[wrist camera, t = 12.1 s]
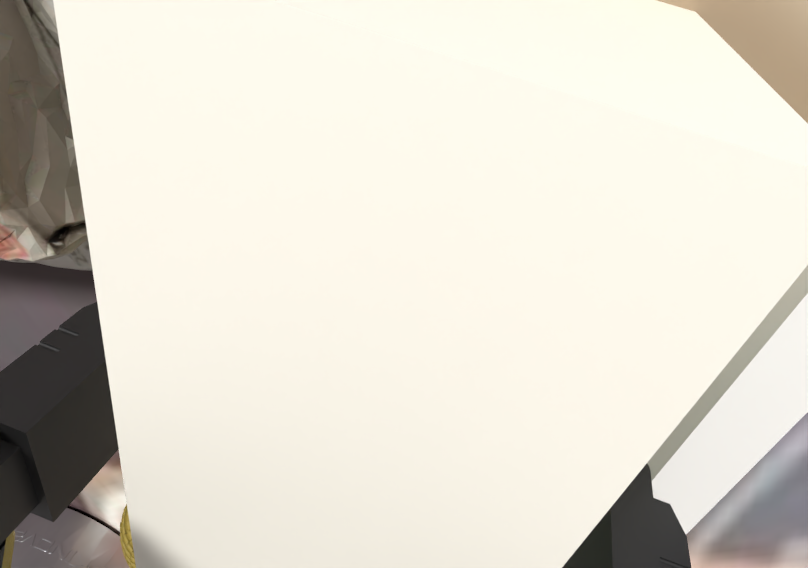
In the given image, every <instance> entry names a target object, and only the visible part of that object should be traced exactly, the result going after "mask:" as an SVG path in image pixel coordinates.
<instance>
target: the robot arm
mask: <svg viewBox="0 0 808 568" xmlns="http://www.w3.org/2000/svg"><path fill="white" fill-rule="evenodd" d="M118 449H119V448H118V441H117V434H116V427H115V420H114V413H113V407H112V400H111V393H110V386H109V379H108V372H107V366H106V359H105V352H104V345H103V338H102V331H101V325H100V318H99V311H98V304H97V302H96V303H94V304H91V305H89V306H86V307H84V308H82V309H81V310H79V311H78V312H77V313H76V314H74V315H73V316H72V317H70V318H69V319H68V320H67V321H65V322H64V323H63V324H61V325H60V327H59V329H58V330H54V331H52V332H51V333H50V334H48V335H47V336H46V337H45V338H43V339H42V340H41V341H40V344H39V345H38V346H37V345H34V346H33V347H32V348H30V349H29V350H28V351H27V352H25V353H24V354H23V355H21V356H20V357H19V358H18V359H16V360H15V361H14V362H12V363H11V364H10V365H9V366H7V367H6V368H5V369H3V370H2V371H1V372H0V568H130V567H129V566H128V564H127V562H126V559H125V557H124V555H123V554H124V553H123V552H122V550H123V549H122V546H121V542H120V538H121V537H120V536H118V535H117V534H116V533H114V532H113V531H111V530H110V529H108V528H107V527H105V526H103V525H102V524H100V523H98V522H97V521H95V520H93V519H91V518H89V517H87V516H85V515H83V514H81V513H79V512H77V511H74V510H71V509H69V508H67V507H68V506H69V504H70V503H71V502H72V501H73V500H74V499H75V498H76V497H77V495H78V494H79V493H80V492H81V491H82V490H83V489H84V487H85V486H86V485H87V484H88V483H89V482H90V481H91V480H92V478H93V477H94V476H95V475H96V474H97V473H98V472H99V470H100V469H101V468H102V467H103V466H104V465H105V464H106V463H107V461H108V460H109V459H110V458H111V457H112V456H113V455H114V453H115V452H116V451H117V450H118ZM562 568H691V563H690V556H689V550H688V543H687V537H686V534H685V532H684V530H683V528H682V526H681V525H680V523H679V521H678V519H677V517H676V515H675V513H674V511H673V509H672V507H671V505H670V504H669V503H666V502H663V501H661V500H658V499H655V498H653V490H652V480H651V472H650V468H649V465H648V464H646V465H645V466H644V467H643V469H642V470H641V471H640V472H639V473H638V475H637V476H636V477H635V478H634V480H633V481H632V482H631V483H630V485H629V486H628V487H627V488H626V489H625V491H624V492H623V493H622V494H621V496H620V497H619V498H618V499H617V501H616V502H615V503H614V504H613V506H612V507H611V508H610V509H609V510H608V512H607V513H606V514H605V515H604V517H603V518H602V519H601V520H600V522H599V523H598V524H597V525H596V526H595V528H594V529H593V530H592V531H591V533H590V534H589V535H588V536H587V538H586V539H585V540H584V541H583V542H582V544H581V545H580V546H579V547H578V549H577V550H576V551H575V552H574V554H573V555H572V556H571V557H570V558H569V560H568V561H567V562H566V563H565V565H564V566H563V567H562Z"/></svg>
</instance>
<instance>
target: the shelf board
mask: <svg viewBox="0 0 808 568" xmlns="http://www.w3.org/2000/svg"><path fill="white" fill-rule="evenodd" d="M657 1H660V2H664V3H667V4H670V5H674V6H677V7H681V8H684V9H688V10H691V11H694V12H696V13H697V14H698V15H699V16H700V17H701V18H702V19H703V20H704V21H705V22H706V23H707V24H708V25H709V26H710V27H711V28H712V29H713V30H714V31H715V32H716V33H717V34H718V35H719V36H720V37H721V38H722V39H723V40H724V41H725V42H726V43H727V44H728V45H729V46H730V47H731V48H732V49H733V50H734V51H735V52H736V53H737V54H738V55H739V56H740V57H741V58H742V59H743V60H744V61H745V62H746V63H747V64H748V65H749V66H750V67H751V68H752V69H753V70H754V71H755V72H756V73H757V74H758V75H759V76H760V77H761V78H763V79H764V80H765V81H766V82H767V83H768V84H769V85H770V86H771V87H772V88H773V89H774V90H775V91H776V92H777V93H778V94H779V95H780V96H781V97H782V98H783V99H784V100H785V101H786V102H787V103H788V104H789V105H790V106H791V107H792V108H793V109H794V110H795V111H796V112H797V113H798V114H799V115H800V116H801V117H802V118H803V119H804V120H805V121H806V122H807V123H808V0H657Z"/></svg>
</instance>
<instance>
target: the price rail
mask: <svg viewBox="0 0 808 568" xmlns="http://www.w3.org/2000/svg"><path fill="white" fill-rule="evenodd" d="M807 412H808V265H807V267H806V268H805V269H804V270H803V271H802V273H801V274H800V275H799V276H798V278H797V279H796V280H795V281H794V283H793V284H792V285H791V286H790V288H789V289H788V290H787V291H786V292H785V294H784V295H783V296H782V297H781V299H780V300H779V301H778V302H777V304H776V305H775V306H774V307H773V308H772V310H771V311H770V312H769V313H768V315H767V316H766V317H765V318H764V320H763V321H762V322H761V323H760V324H759V326H758V327H757V328H756V329H755V331H754V332H753V333H752V334H751V336H750V337H749V338H748V339H747V340H746V342H745V343H744V344H743V345H742V347H741V348H740V349H739V350H738V352H737V353H736V354H735V355H734V356H733V358H732V359H731V360H730V361H729V363H728V364H727V365H726V366H725V368H724V369H723V370H722V371H721V372H720V374H719V375H718V376H717V377H716V379H715V380H714V381H713V382H712V384H711V385H710V386H709V387H708V388H707V390H706V391H705V392H704V393H703V395H702V396H701V397H700V398H699V400H698V401H697V402H696V403H695V405H694V406H693V407H692V408H691V409H690V411H689V412H688V413H687V414H686V416H685V417H684V418H683V419H682V421H681V422H680V423H679V424H678V425H677V427H676V428H675V429H674V430H673V432H672V433H671V434H670V435H669V437H668V438H667V439H666V440H665V441H664V443H663V444H662V445H661V446H660V448H659V449H658V450H657V451H656V453H655V454H654V455H653V456H652V457H651V459H650V460H649V461H648V462H647V464H648V465H649V468H650V472H651V480H652V490H653V498H655V499H658V500H661V501H663V502H666V503H669V504H670V505H671V507H672V509H673V511H674V513H675V515H676V517H677V519H678V521H679V523H680V525H681V526H682V528H683V530H684V532H685V534H687V533H688V532H689V531H690V530H691V529H692V528H693V527H694V526H695V525H696V524H697V523H698V522H699V521H700V520H701V519H702V518H703V517H704V516H705V515H706V514H707V513H708V512H709V511H710V510H711V509H712V508H713V507H714V506H715V505H716V504H717V503H718V502H719V501H720V500H721V499H722V498H723V497H724V496H725V495H726V494H727V493H728V492H729V491H730V490H731V489H732V488H733V487H734V486H735V485H736V484H737V483H738V482H739V481H740V480H741V479H742V478H743V477H744V476H745V475H746V474H747V473H748V472H749V471H750V470H751V469H752V468H753V467H754V466H755V464H756V463H757V462H758V461H759V460H760V459H761V458H762V457H763V456H764V455H765V454H766V453H767V452H768V451H769V450H770V449H771V448H772V447H773V446H774V445H775V444H776V443H777V442H778V441H779V440H780V439H781V438H782V437H783V436H784V435H785V434H786V433H787V432H788V431H789V430H790V429H791V428H792V427H793V426H794V425H795V424H796V423H797V422H798V421H799V420H800V419H801V418H802V417H803V416H804V415H805V414H806V413H807Z"/></svg>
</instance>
